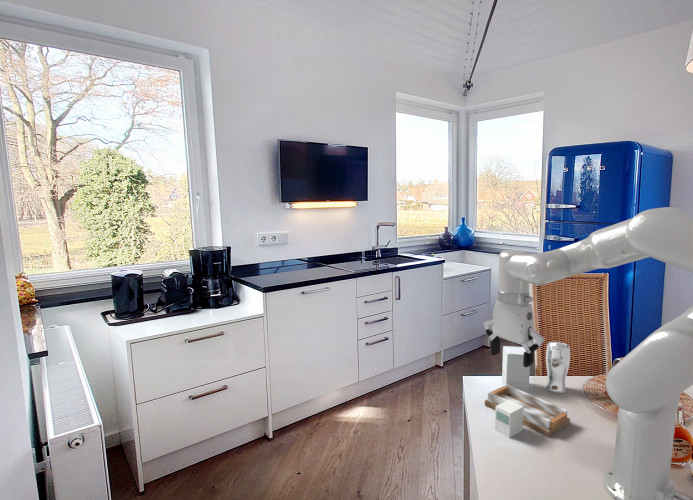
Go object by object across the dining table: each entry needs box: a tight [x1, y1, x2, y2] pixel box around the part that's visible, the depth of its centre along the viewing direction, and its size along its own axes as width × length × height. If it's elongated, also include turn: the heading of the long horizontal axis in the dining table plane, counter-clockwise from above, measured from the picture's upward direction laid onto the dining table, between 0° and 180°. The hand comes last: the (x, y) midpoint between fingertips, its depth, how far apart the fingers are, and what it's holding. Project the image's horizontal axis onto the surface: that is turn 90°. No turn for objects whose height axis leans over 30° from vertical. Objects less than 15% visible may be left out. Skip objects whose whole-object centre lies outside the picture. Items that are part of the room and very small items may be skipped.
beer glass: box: [545, 341, 571, 394], centre depth 131 cm, size 7×7×15 cm
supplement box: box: [501, 345, 531, 393], centre depth 134 cm, size 7×7×13 cm
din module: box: [494, 400, 524, 439], centre depth 109 cm, size 4×6×7 cm
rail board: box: [484, 385, 571, 438], centre depth 117 cm, size 20×11×4 cm, turn 34°
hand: (511, 359), depth 107 cm, fingers open, 9 cm apart
